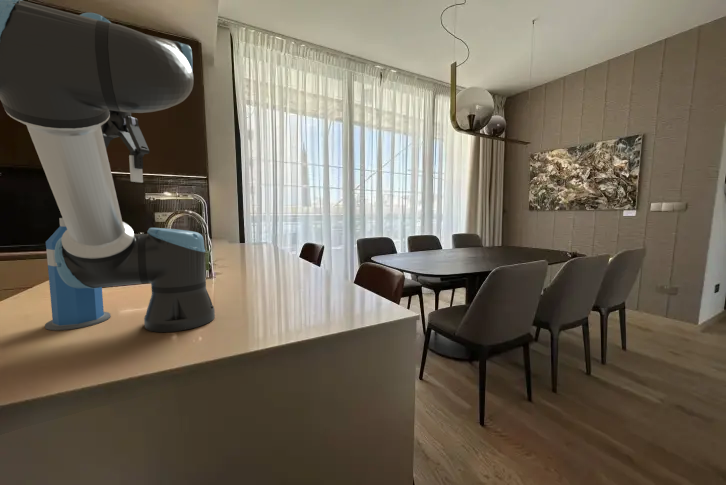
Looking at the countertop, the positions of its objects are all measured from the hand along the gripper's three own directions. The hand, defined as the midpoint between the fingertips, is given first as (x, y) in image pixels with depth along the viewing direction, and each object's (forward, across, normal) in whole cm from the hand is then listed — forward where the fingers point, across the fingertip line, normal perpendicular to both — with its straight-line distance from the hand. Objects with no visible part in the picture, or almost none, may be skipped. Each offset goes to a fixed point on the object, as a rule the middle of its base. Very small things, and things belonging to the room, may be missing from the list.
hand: (117, 182), depth 81 cm
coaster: (+35, +3, +9) cm, 36 cm away
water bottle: (+34, +3, +9) cm, 36 cm away
